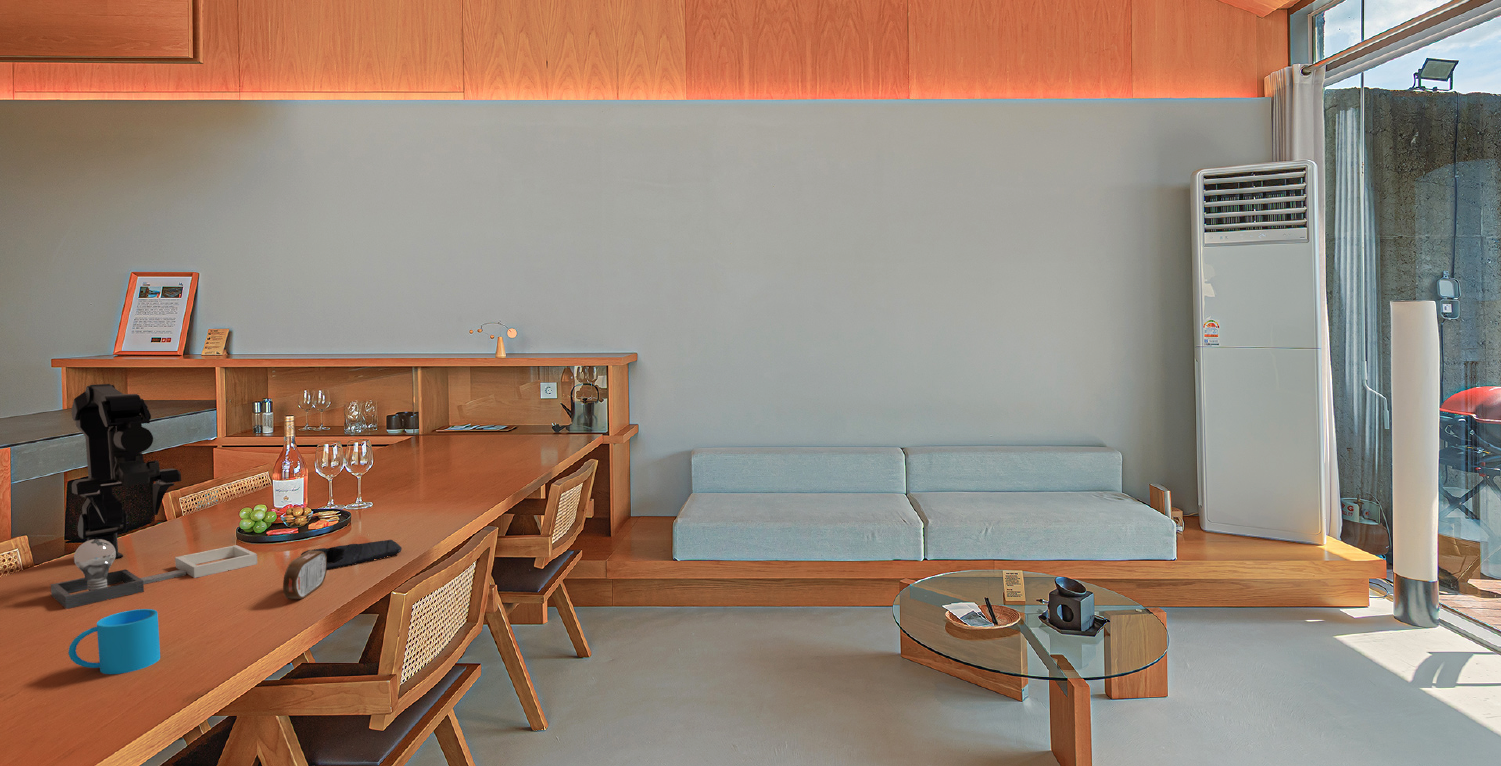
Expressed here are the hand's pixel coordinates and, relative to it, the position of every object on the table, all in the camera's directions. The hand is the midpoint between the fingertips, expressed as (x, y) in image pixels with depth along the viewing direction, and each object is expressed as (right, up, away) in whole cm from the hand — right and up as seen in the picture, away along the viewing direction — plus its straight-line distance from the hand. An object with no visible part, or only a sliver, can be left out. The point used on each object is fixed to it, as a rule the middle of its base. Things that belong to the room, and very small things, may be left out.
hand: (131, 518), depth 177 cm
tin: (+44, -15, -8) cm, 47 cm away
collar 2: (+11, -13, +12) cm, 21 cm away
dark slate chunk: (+41, -14, +18) cm, 47 cm away
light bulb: (-1, -15, -7) cm, 17 cm away
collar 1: (-1, -15, -7) cm, 17 cm away
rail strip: (+5, -14, +2) cm, 15 cm away
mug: (+32, -18, -44) cm, 57 cm away
